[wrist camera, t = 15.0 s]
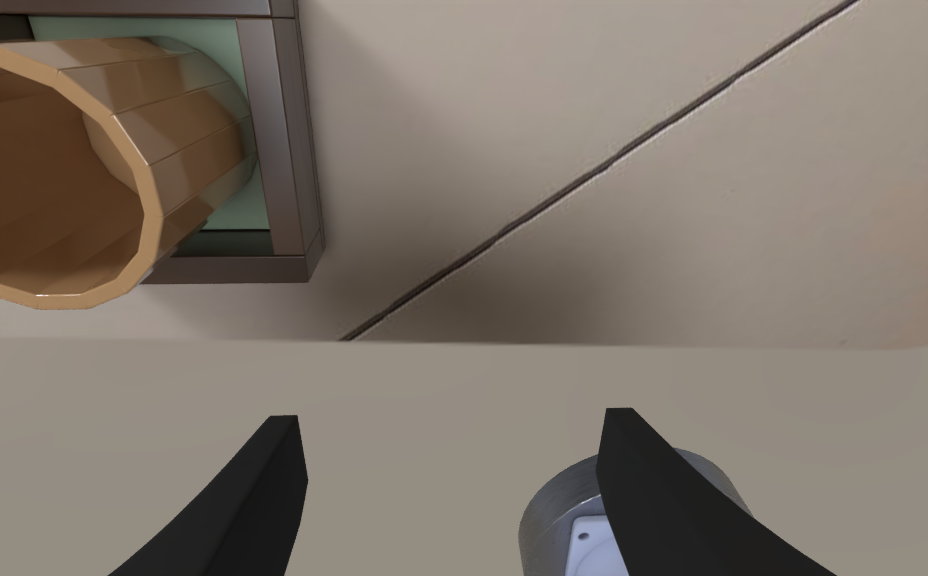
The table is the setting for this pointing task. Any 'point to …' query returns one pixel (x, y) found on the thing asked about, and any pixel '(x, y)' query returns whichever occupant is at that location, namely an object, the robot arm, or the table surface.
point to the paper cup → (110, 161)
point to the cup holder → (272, 112)
